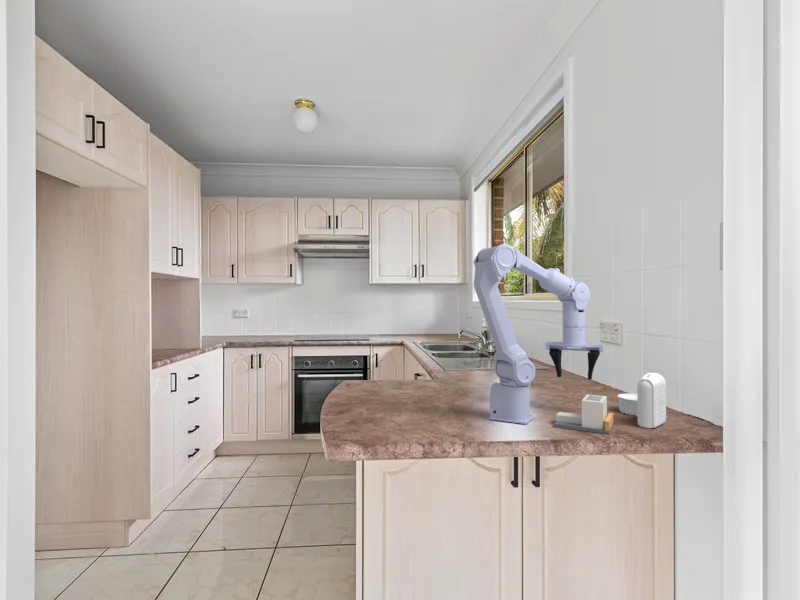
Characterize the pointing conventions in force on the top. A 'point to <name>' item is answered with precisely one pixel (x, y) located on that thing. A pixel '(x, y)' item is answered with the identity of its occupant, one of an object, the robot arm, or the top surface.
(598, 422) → the block
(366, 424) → the top surface
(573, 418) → the rail mount
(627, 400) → the ramekin
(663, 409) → the photo printer
